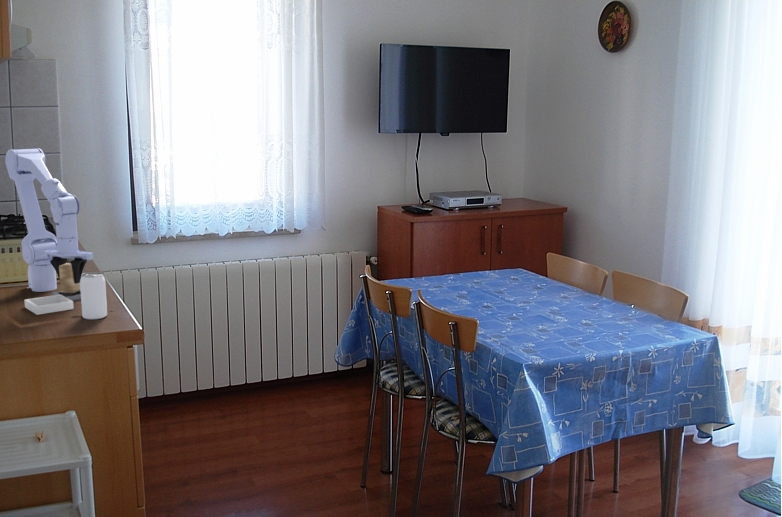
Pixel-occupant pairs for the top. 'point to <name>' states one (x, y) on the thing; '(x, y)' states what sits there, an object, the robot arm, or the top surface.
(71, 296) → the stud socket
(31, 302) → the bin tray
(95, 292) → the can
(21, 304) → the top surface
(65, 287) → the peg
